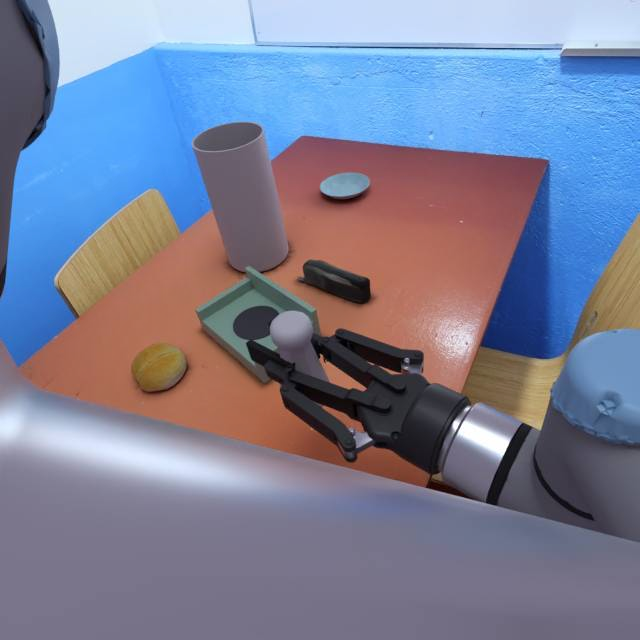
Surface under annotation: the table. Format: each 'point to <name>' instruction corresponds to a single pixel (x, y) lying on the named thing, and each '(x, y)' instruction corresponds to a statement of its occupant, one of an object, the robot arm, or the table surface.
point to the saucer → (345, 185)
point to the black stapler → (336, 280)
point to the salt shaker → (297, 343)
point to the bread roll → (158, 367)
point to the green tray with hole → (250, 316)
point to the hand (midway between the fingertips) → (262, 339)
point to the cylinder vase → (242, 194)
